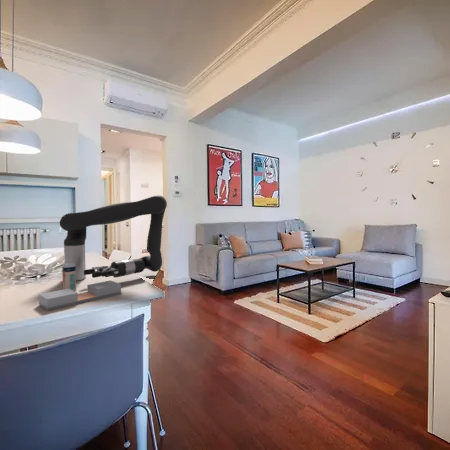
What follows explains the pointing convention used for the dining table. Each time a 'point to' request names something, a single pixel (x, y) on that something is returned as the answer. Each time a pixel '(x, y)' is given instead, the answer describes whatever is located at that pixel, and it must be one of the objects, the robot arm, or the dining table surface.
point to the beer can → (69, 276)
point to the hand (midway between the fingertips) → (88, 273)
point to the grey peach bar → (78, 295)
